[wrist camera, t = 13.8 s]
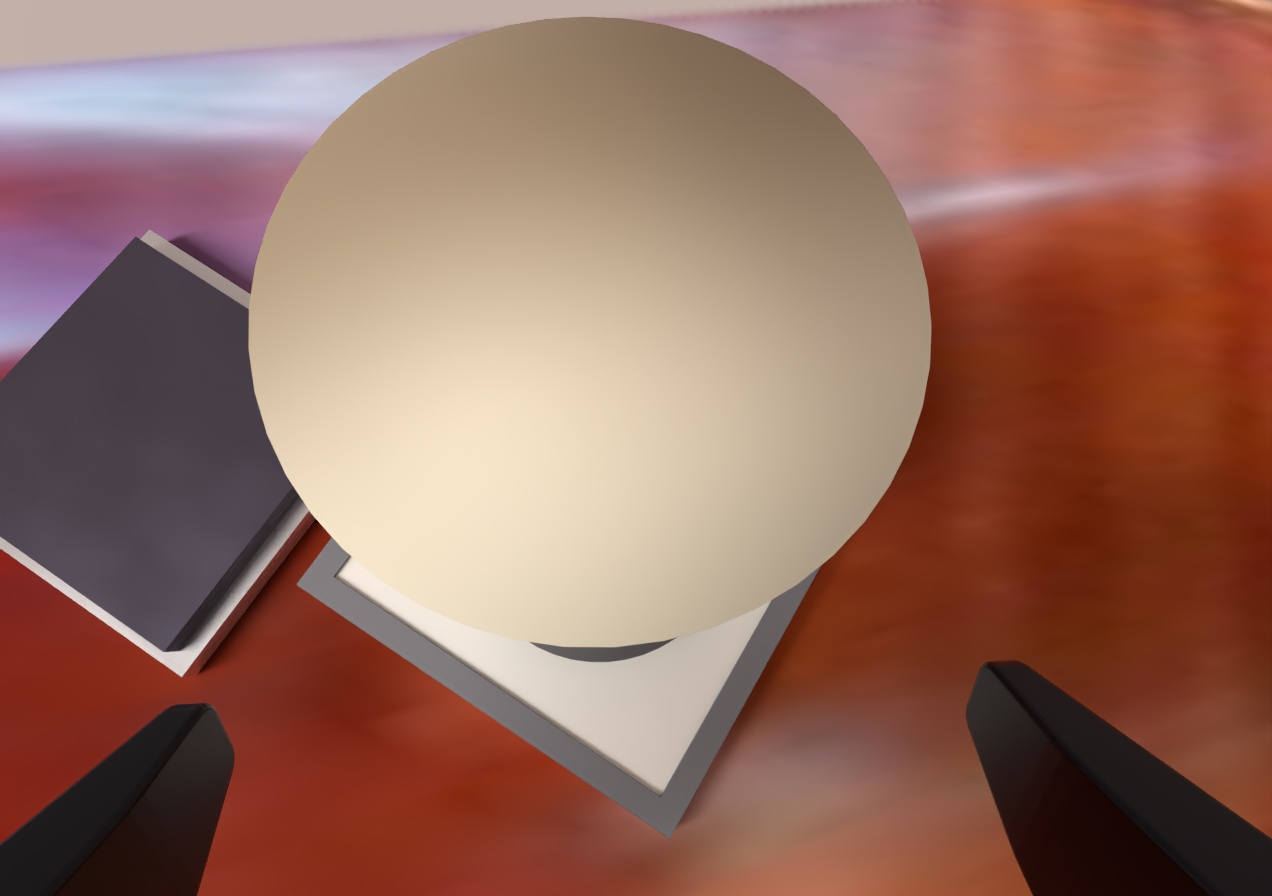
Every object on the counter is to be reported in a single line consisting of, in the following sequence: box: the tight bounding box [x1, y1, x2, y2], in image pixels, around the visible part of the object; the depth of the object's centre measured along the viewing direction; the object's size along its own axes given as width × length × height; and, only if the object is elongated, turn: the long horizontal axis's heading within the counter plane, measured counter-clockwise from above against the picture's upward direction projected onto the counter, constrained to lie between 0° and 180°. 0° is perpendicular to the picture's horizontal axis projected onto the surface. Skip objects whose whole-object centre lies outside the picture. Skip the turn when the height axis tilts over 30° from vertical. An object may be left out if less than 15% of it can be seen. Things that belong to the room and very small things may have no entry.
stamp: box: [249, 17, 932, 662], centre depth 11 cm, size 6×6×13 cm
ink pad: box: [0, 230, 316, 677], centre depth 17 cm, size 8×8×1 cm
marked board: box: [297, 537, 821, 839], centre depth 17 cm, size 10×10×1 cm
